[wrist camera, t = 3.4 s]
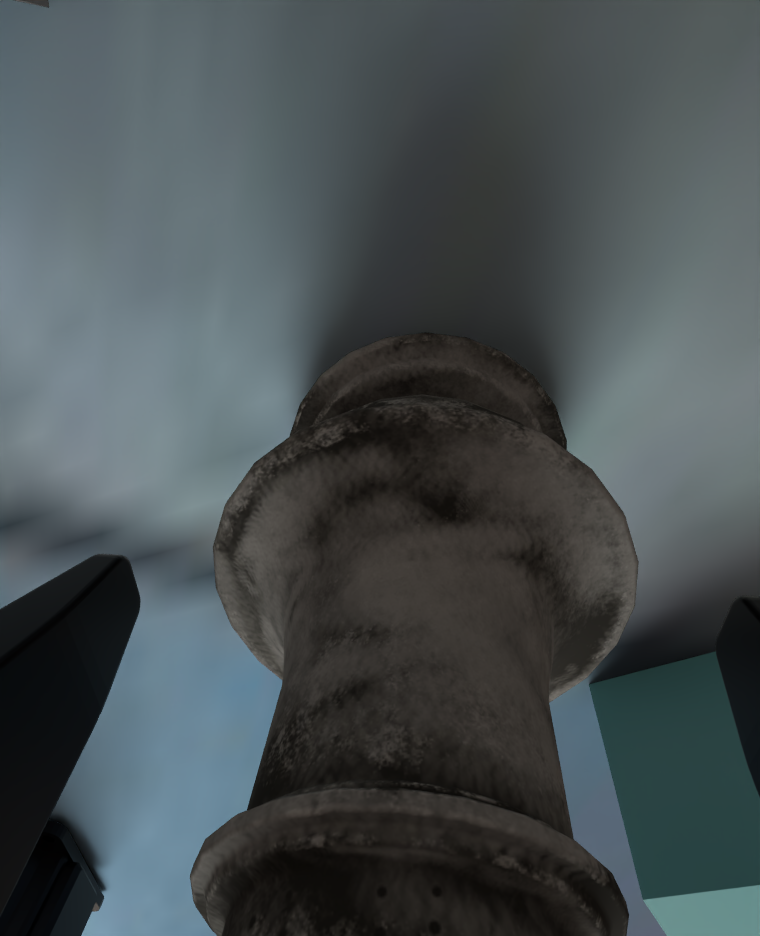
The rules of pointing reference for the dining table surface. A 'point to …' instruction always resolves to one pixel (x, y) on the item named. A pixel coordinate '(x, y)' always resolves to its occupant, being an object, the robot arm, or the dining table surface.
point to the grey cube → (36, 2)
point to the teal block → (684, 796)
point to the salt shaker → (417, 656)
